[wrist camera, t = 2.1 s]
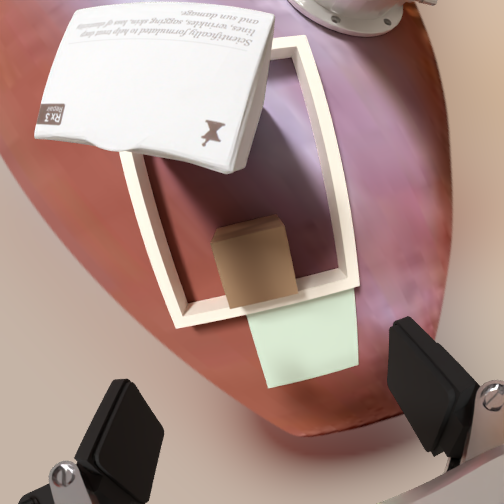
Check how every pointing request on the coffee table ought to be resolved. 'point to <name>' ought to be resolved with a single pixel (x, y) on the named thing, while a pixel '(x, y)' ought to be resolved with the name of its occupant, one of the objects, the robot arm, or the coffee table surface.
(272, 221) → the walnut block
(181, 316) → the cream rectangular frame
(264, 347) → the tile
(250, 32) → the skincare box
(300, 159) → the coffee table surface
